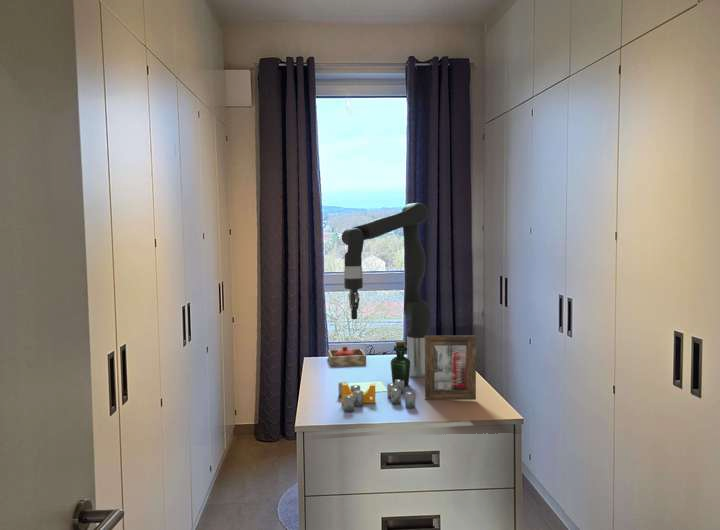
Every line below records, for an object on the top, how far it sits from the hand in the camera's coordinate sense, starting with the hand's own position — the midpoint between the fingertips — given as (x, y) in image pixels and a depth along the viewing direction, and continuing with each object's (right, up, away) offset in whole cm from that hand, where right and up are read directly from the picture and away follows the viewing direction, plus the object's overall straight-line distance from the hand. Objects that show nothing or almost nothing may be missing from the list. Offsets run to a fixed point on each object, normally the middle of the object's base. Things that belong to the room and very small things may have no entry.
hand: (354, 318), depth 212 cm
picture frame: (+36, -28, -21) cm, 50 cm away
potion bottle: (+19, -27, -1) cm, 33 cm away
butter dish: (-5, -26, +37) cm, 45 cm away
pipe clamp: (+2, -28, -24) cm, 37 cm away
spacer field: (+8, -28, -22) cm, 37 cm away
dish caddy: (-4, -25, +38) cm, 45 cm away
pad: (+4, -27, -5) cm, 28 cm away
